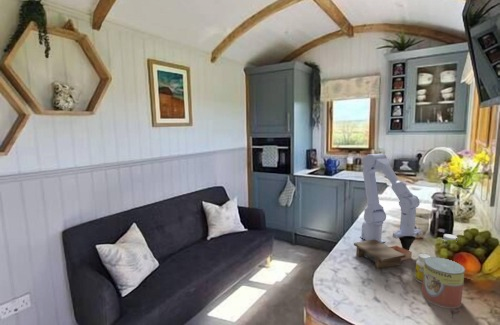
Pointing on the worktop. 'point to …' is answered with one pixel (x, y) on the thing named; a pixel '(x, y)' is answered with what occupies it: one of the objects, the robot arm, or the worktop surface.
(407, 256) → the peach open box
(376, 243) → the overhang
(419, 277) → the supplement bottle
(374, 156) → the robot arm
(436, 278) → the canned food
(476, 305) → the worktop surface
